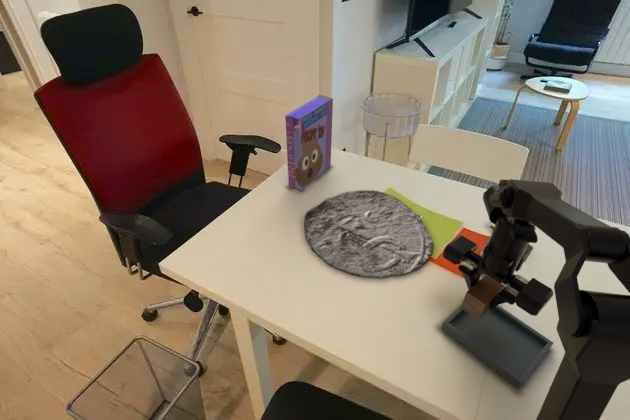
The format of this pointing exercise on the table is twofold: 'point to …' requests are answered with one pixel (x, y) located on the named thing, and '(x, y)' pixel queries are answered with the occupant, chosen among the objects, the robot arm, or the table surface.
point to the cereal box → (309, 141)
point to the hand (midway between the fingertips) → (481, 300)
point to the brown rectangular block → (481, 297)
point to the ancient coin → (368, 234)
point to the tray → (500, 342)
